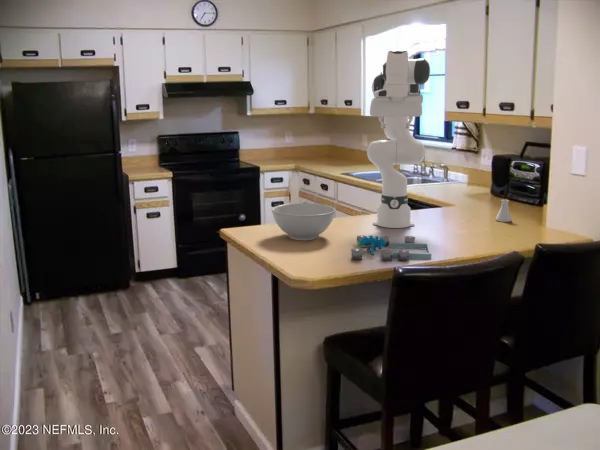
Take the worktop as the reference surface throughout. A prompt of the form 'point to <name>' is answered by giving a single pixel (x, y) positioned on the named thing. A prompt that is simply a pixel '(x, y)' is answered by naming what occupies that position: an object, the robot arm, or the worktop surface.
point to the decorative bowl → (303, 219)
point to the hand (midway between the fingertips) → (395, 128)
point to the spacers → (385, 254)
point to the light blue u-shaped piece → (412, 245)
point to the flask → (504, 212)
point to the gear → (371, 243)
